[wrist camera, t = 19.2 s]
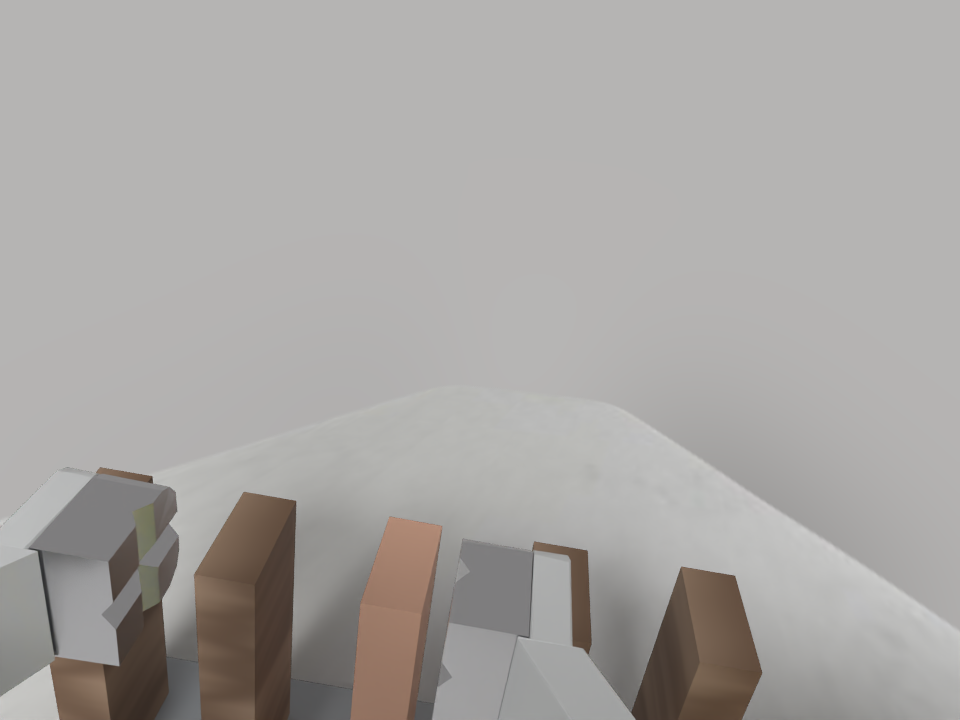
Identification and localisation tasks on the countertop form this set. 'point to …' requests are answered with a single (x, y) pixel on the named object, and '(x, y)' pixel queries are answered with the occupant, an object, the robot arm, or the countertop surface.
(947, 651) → the countertop surface
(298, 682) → the mat
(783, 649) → the countertop surface
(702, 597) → the domino
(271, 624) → the domino
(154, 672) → the domino
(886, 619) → the countertop surface
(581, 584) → the domino
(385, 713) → the domino
